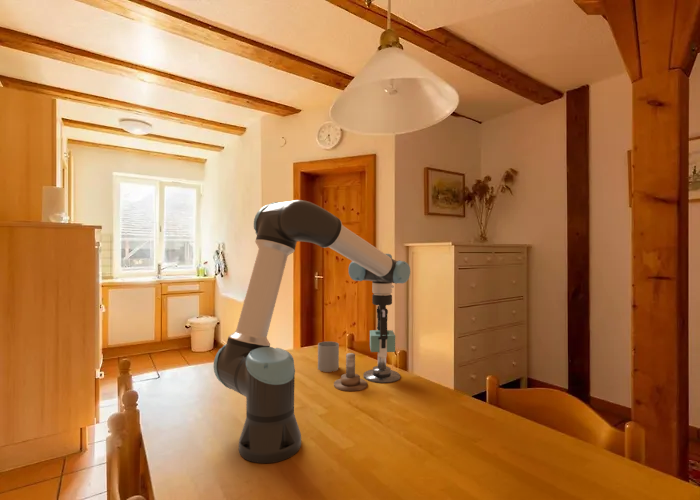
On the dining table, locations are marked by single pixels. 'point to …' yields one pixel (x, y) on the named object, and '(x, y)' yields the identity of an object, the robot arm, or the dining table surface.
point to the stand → (350, 377)
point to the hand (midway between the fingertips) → (382, 352)
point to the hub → (381, 373)
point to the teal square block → (375, 341)
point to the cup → (328, 356)
